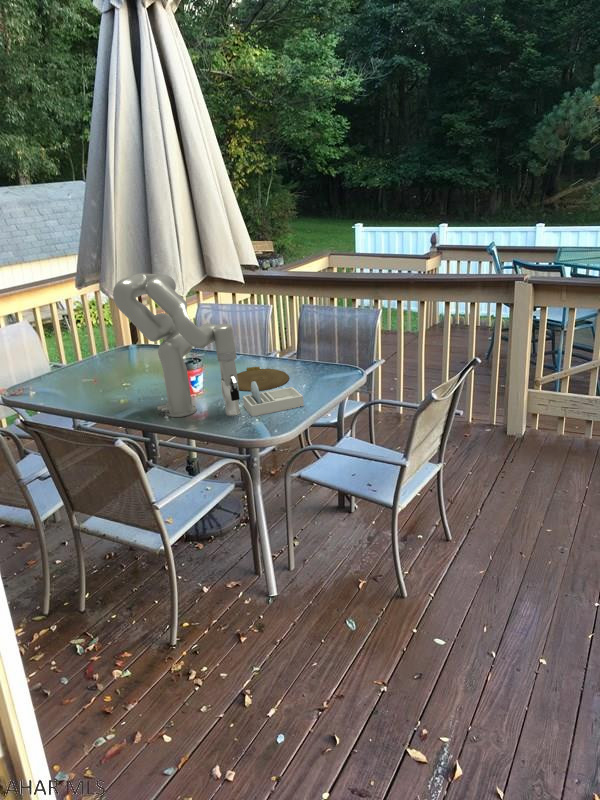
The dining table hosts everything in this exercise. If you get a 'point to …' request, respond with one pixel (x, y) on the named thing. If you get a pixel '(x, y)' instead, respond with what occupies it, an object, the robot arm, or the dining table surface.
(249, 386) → the decorative disc
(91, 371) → the dining table surface
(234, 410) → the beer glass
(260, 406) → the rack
